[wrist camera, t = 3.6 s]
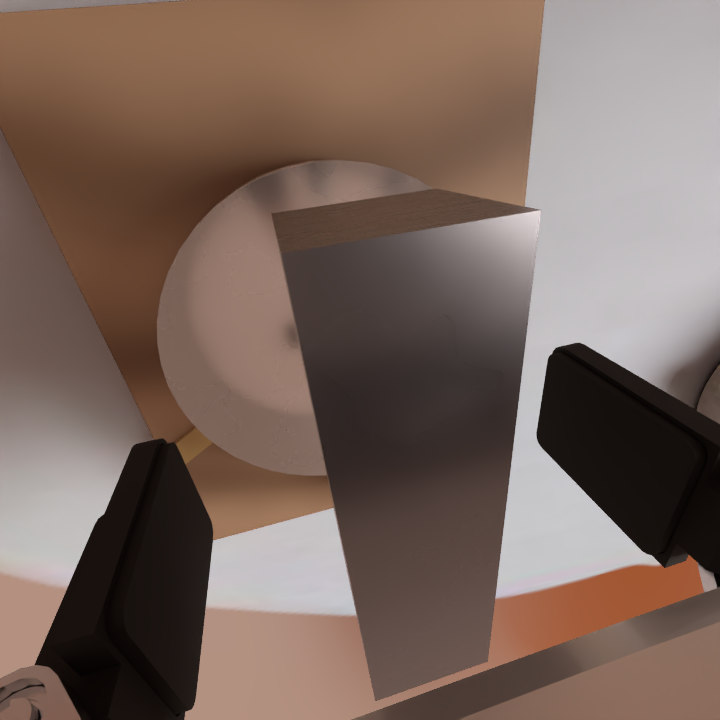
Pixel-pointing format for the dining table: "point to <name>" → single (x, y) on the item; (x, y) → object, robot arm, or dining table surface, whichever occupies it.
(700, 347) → the dining table surface
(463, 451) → the door handle
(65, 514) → the dining table surface
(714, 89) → the dining table surface
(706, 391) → the dish
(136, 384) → the dial stand
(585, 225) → the dining table surface
